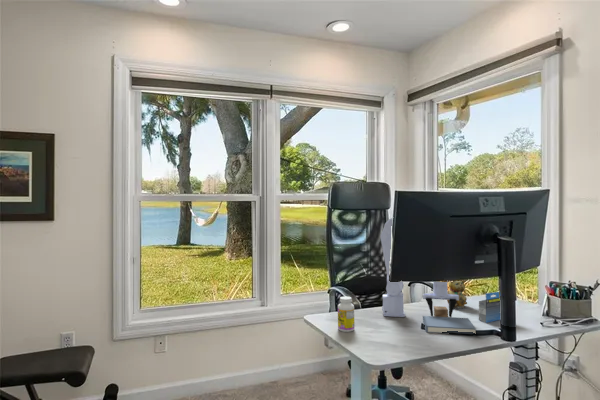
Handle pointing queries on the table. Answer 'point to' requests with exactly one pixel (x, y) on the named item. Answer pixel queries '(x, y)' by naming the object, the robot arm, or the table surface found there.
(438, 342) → the table surface
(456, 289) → the decorative figurine
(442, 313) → the walnut block
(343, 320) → the supplement bottle
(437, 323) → the book
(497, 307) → the label tape box
